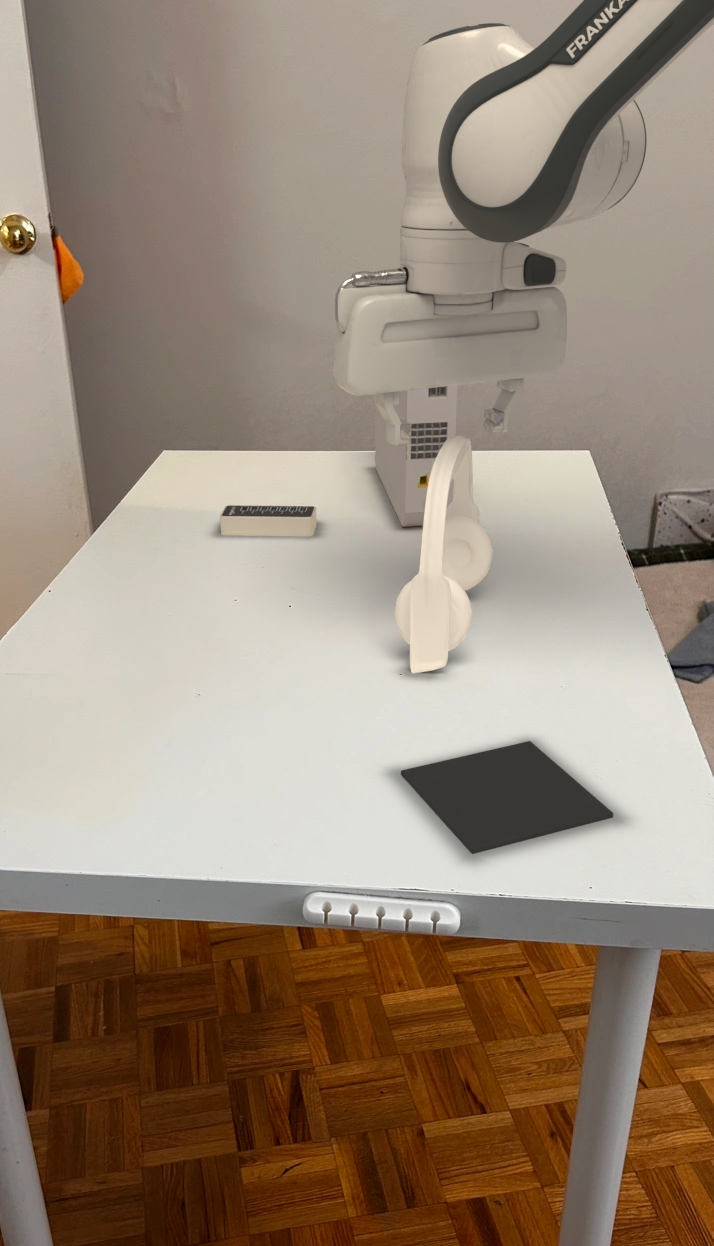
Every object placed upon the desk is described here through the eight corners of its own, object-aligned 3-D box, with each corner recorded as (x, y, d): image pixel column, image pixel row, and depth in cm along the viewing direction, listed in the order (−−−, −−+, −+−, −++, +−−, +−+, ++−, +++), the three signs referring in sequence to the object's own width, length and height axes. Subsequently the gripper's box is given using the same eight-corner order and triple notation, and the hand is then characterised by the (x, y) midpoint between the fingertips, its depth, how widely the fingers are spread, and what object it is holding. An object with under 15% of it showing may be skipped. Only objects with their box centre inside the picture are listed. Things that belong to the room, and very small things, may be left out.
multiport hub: (313, 536, 129) (312, 517, 128) (220, 535, 130) (219, 516, 129) (316, 524, 133) (316, 505, 132) (226, 523, 134) (225, 504, 133)
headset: (465, 683, 95) (475, 479, 86) (384, 675, 97) (386, 475, 88) (492, 596, 112) (503, 418, 103) (422, 590, 114) (427, 415, 105)
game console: (416, 466, 153) (420, 315, 144) (454, 531, 129) (461, 355, 120) (375, 468, 153) (375, 317, 143) (404, 534, 129) (408, 357, 119)
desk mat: (529, 745, 85) (530, 740, 85) (613, 817, 76) (613, 813, 76) (400, 774, 82) (400, 770, 82) (472, 854, 73) (472, 849, 73)
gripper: (351, 277, 83) (351, 460, 90) (584, 261, 89) (568, 432, 96) (319, 268, 88) (322, 441, 95) (542, 253, 94) (529, 416, 101)
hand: (447, 437), depth 95 cm, fingers open, 8 cm apart
